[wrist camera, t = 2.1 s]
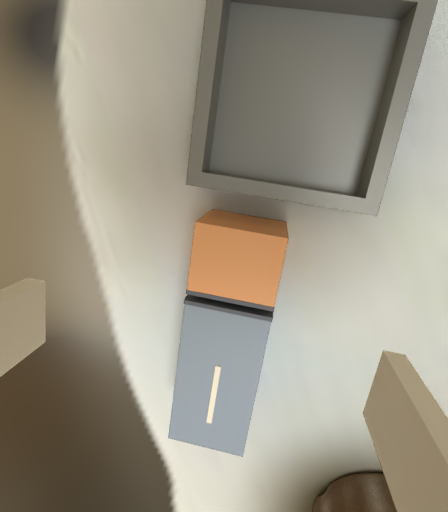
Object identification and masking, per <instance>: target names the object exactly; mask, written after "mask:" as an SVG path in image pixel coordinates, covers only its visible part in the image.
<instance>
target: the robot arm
mask: <svg viewBox="0 0 448 512" xmlns="http://www.w3.org/2000/svg"><path fill="white" fill-rule="evenodd" d="M44 342H45V281H41V280H36V279H31V278H26V279H24V280H21V281H19V282H17V283H15V284H13V285H11V286H8V287H6V288H4V289H2V290H0V377H1V376H2V375H3V374H4V373H6V372H7V371H8V370H10V369H11V368H12V367H14V366H15V365H16V364H17V363H19V362H20V361H21V360H23V359H24V358H25V357H26V356H28V355H29V354H30V353H32V352H33V351H34V350H35V349H37V348H38V347H39V346H41V345H42V344H43V343H44ZM363 415H364V418H365V421H366V424H367V426H368V429H369V432H370V435H371V438H372V441H373V444H374V447H375V450H376V452H377V455H378V458H379V461H380V464H381V467H382V470H383V473H384V476H385V478H386V481H387V484H388V487H389V490H390V493H391V496H392V499H393V502H394V505H395V507H396V510H397V512H448V418H447V417H446V415H445V414H444V412H443V411H442V409H441V408H440V406H439V405H438V403H437V402H436V400H435V399H434V397H433V396H432V394H431V393H430V391H429V390H428V388H427V387H426V385H425V384H424V382H423V381H422V379H421V378H420V376H419V375H418V373H417V372H416V370H415V369H414V367H413V366H412V364H411V363H410V361H409V360H408V358H407V357H406V355H403V354H398V353H393V352H388V351H383V352H382V356H381V359H380V362H379V365H378V368H377V371H376V374H375V377H374V380H373V383H372V387H371V390H370V393H369V396H368V399H367V402H366V405H365V408H364V411H363Z"/></svg>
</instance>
